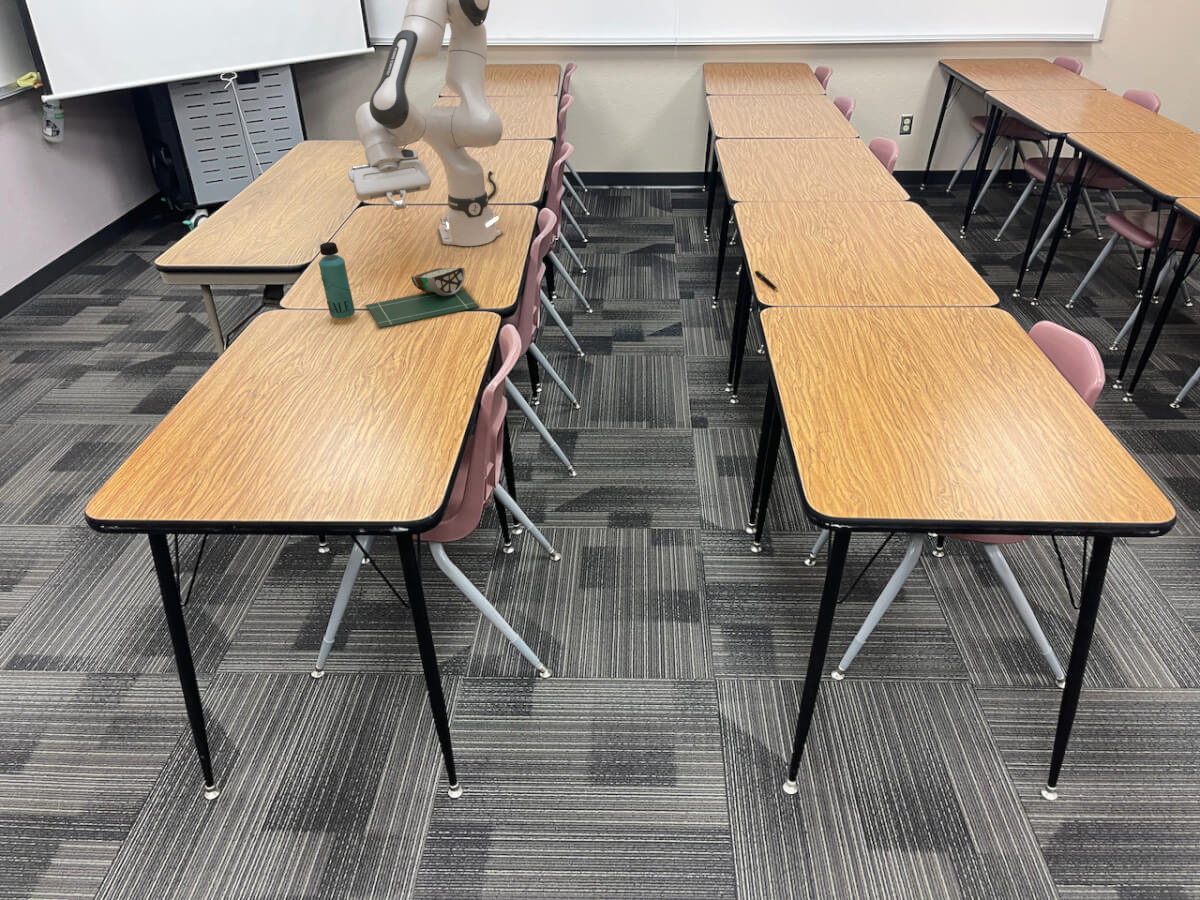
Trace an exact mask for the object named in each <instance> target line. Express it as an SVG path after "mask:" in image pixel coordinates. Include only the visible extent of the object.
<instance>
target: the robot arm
mask: <svg viewBox="0 0 1200 900" xmlns="http://www.w3.org/2000/svg"><path fill="white" fill-rule="evenodd" d="M490 3H491V0H408V2H407V5H406V8H405V10H404V11H405V12H404V15H403V20H402V24H401V29H400V31H399V32H397V34H396V36H394V39H393V41H392V44H391V47H390V50H389V53H388V55H387V59H386V61H385V62H386V63H385V65H384V69H383V71H382V74H381V78H380V80H379V82H378V84H377V86H376V87H375V89H374V91H373V92H372V94H371V96H370V99H369V101H367V102H364V103H363V104H361V105H360V106H359V107H358V108H357V110H356V111H355V118H354V120H355V125H356V130H357V134H358V137H359V141H360V143H361V145H362V147H363V148H364V155H365V158H366V161H367V163H366V164H361V165H354V166H352V167H351V168H350V169H348V172H347V175H348V179H349V181H350V182H352V183H353V190H354V193H355V198H356V199H357V200H358V201H360V202H363V201H370V200H376V199H382V198H385V199H386V200H387V202H388V203H389V204H391V205H392V206H393V209H394V211H398V210H405V209H406V208H407V204H406V201H405V200H406V196H407V194H411V193H418V192H423V191H428V190H430V187H431V185H432V179H431V176H430V174H429V171H428V170H427V169H428V168H427V167H426V165H425V163H424V162H423V161H422V160H420V159H419V154H418V151H417V150H415V149H411V148H410V149H409V148H402V147H404V146H407V145H411V144H414V143H417V142H418V141H419V140H420V139H422V140H423V142H425V143H426V144H427V145H429V147H431V148H432V149H433V151H434V152H435V153H436V155H437V157H438V158H439V159H440V161H441V163H442V166H443V168H444V172H445V176H446V182H447V190H448V194H447V206H448V207H447V208H446V210H445V211H444V215H443V216H441V217H440V219H439V220H440V224H441V225H440V226H438V231H439V235H440V238H441V241H442V244H443V245H452V246H453V245H454V246H458V247H459V246H460V247H477V246H483V245H486V244H488V243H491V242H493V241H494V240H496V238H497V237H499V236H500V235H502V231H501V230H500V229H499V228H497V226H496V221H498V220H499V216H496V217H495V212H494V209H493V208H492V207H491V206H489V199H490V198H491V197H492V196H494V194H495V193H496V190H497V185H496V183H495V182H494V181H493V180H492V178H491V175H493V172H492V171H491V170H490V171H488V174H487V178H488V181H489V182H490V183H492V186H493V190H492V191H491V193H490V194H489V195H488V192H487V191H486V183H485V174H484V173H485V172H484V168H483V166H482V164H481V163H480V162H479V160H477V159H475V158H473V156H471V155H470V154H469V153H468V151H467V150H466V148H470V149H471V148H472V149H484V148H490V147H495V146H497V145H498V144H499V142H500V141H501V139H502V136H503V132H504V125H503V121H502V119H501V117H500V115H499V114H498V113H497V111H495V110H494V108H493V107H492V106H491V104H490V102H489V101H488V98H487V94H486V89H485V88H486V86H485V82H486V67H487V55H488V38H487V29H486V28H487V27H486V26H485V24H484V23H485V22H486V19H487V15H488V12H489V9H490ZM448 24H449V29H450V38H449V43H448V47H447V58H446V68H445V78H444V80H445V83H446V85H447V87H448V88H449V90H450V91H451V92H453V93H454V94H456V95H457V96H458V97H460V105H458V106H454V105H451V106H450V105H434V106H429V107H425V108H423V109H422V110H419V109H418V108H417V106H416V105H415V104H414V103H413V102H412V101H411V100H410V99H409V97H408V94H407V84H408V80H409V77H410V74H411V71H412V67H413V64H414V62H415V61H416V62H429V61H431V60H433V59H435V58H437V56H439V54H440V52H441V49H442V46H443V42H444V39H445V32H446V26H447V25H448ZM394 196H399V198H400V199H401V200H395V199H394V198H393V197H394Z"/></svg>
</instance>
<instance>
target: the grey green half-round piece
mask: <svg viewBox="0 0 1200 900" xmlns="http://www.w3.org/2000/svg"><path fill="white" fill-rule="evenodd" d="M465 277H466V271H465V267H463V266H460V267H438V268H436V267H435V268H434V269H429V270H426V271H424V272H421V273H418V274H415V275H412V276H410V278H411V281H412V283H413V285H414V286H415V287H416V288H417V289H418V290H420V291H422V292H426V293H428V292H435V293H437V294H438V295H441V296H448V295H452V294H454V293H456V292H457V291H458V290H459V289H460V288H461V287H462V286H463V284H464V282H465Z"/></svg>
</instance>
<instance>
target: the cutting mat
mask: <svg viewBox="0 0 1200 900" xmlns="http://www.w3.org/2000/svg"><path fill="white" fill-rule="evenodd" d="M366 307H367V309H368V311H369V312H370V314H371V316H372V318H373V319H374V321H375V322H376V324H377V326H378V327H379V329H385V328H389V327H390V328H391V327H394V326H400V325H403V324H410V323H412V322H413V323H414V322H418V321H422V320H428V319H432V318H433V319H434V318H437V317H442V316H446V315H451V314H456V313H460V312H465V311H470V310H474V309H475V310H476V309H479V308H480V306H479V305H478V304H477V302H476V301H475V300H474V299H473V298H472V297H471V296H470V294H469V293H468V292H467V291H466V290H465V289H464V288H463V287H462V286H461V288H460V289H459V290H458V291H457V292H456V293H454V294H452V295H448V296H441V295H438V294H437V293H435V292H424V293H419V294H414V295H409V296H404V297H399V298H393V299H389V300H384V301H379V302H375V303H369V304H366Z"/></svg>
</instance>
